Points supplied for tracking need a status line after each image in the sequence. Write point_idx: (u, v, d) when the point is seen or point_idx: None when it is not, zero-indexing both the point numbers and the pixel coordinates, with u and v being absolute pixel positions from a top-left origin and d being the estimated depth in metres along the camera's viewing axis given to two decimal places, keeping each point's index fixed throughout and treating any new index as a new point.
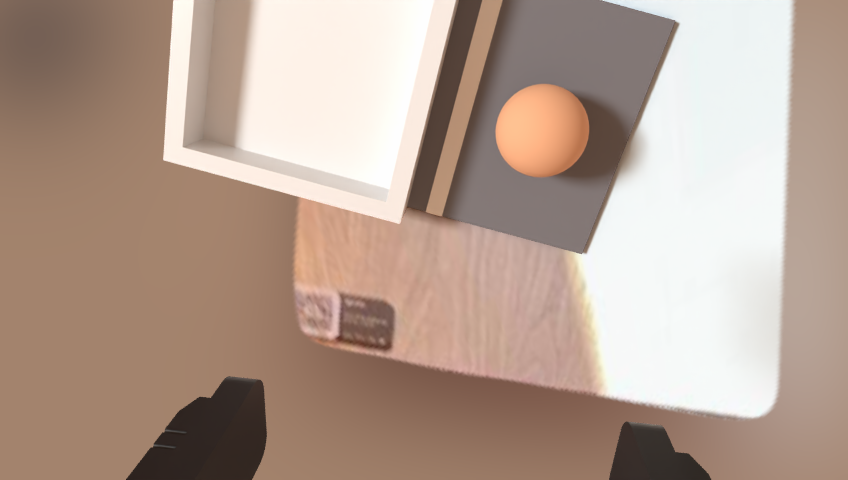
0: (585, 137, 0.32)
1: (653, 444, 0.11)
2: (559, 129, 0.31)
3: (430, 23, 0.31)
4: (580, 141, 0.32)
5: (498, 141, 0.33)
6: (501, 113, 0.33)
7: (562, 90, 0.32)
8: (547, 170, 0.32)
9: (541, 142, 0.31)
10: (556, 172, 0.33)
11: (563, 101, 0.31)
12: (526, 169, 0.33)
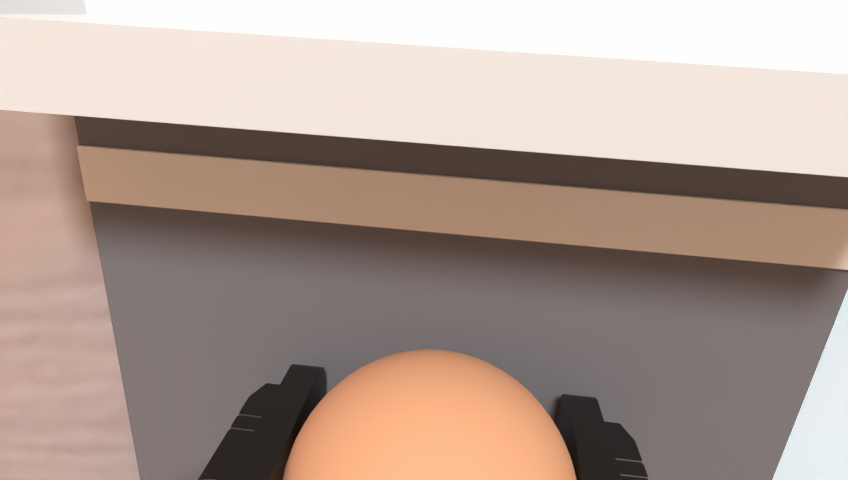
0: None
1: (584, 413, 0.11)
2: None
3: (831, 84, 0.06)
4: None
5: (365, 418, 0.09)
6: (465, 401, 0.09)
7: None
8: None
9: None
10: None
11: None
12: None
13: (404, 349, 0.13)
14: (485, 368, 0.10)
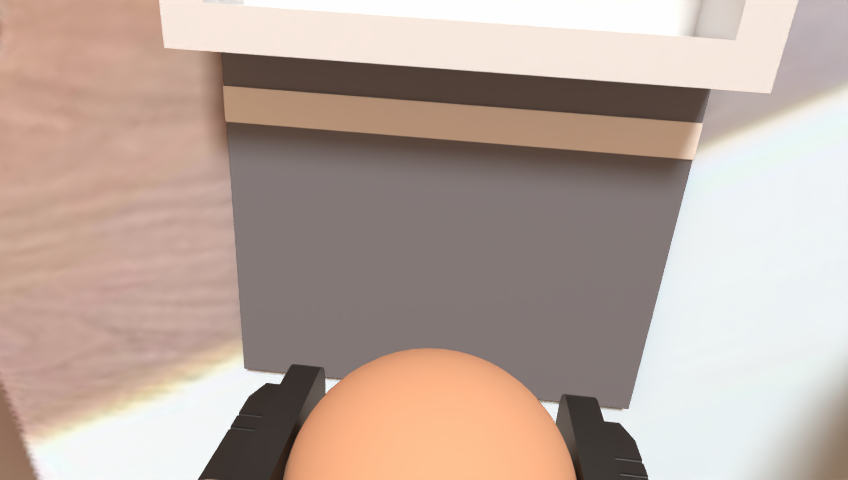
0: None
1: (584, 413, 0.11)
2: None
3: (632, 38, 0.14)
4: None
5: (365, 416, 0.09)
6: (465, 400, 0.09)
7: None
8: None
9: None
10: None
11: None
12: None
13: (422, 219, 0.20)
14: (485, 367, 0.10)
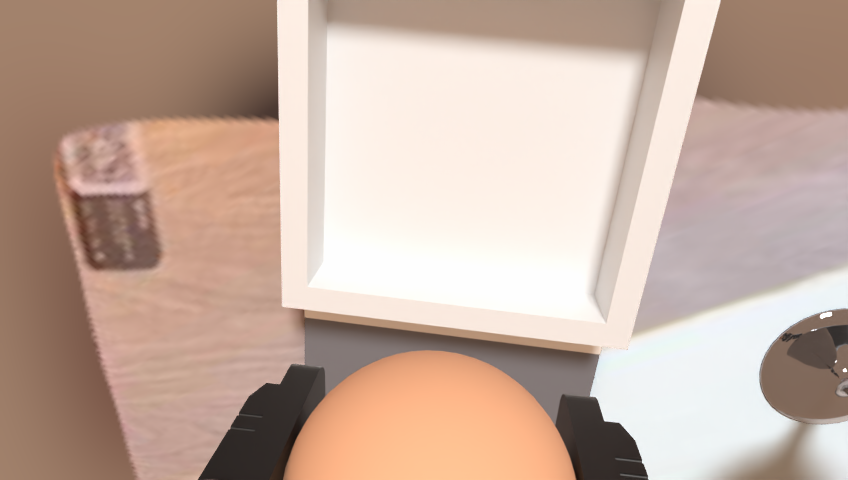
0: None
1: (584, 413, 0.11)
2: None
3: (549, 319, 0.25)
4: None
5: (365, 419, 0.09)
6: (464, 402, 0.09)
7: None
8: None
9: None
10: None
11: None
12: None
13: None
14: (485, 369, 0.10)
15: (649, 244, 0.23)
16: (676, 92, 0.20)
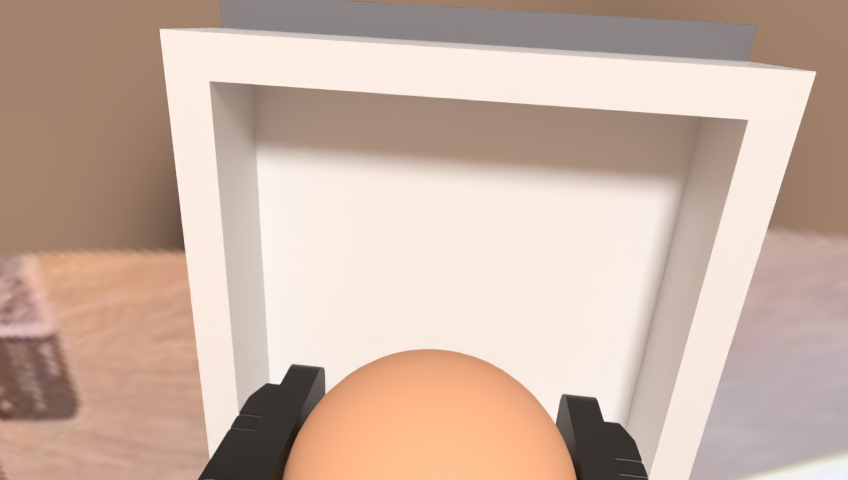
0: None
1: (584, 413, 0.11)
2: None
3: None
4: None
5: (365, 418, 0.09)
6: (465, 401, 0.09)
7: None
8: None
9: None
10: None
11: None
12: None
13: None
14: (485, 368, 0.10)
15: (692, 437, 0.17)
16: (731, 253, 0.15)
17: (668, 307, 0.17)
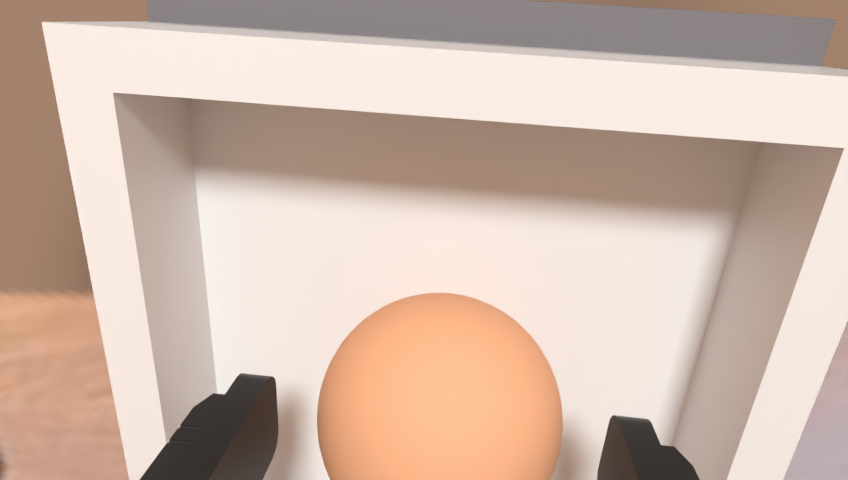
0: None
1: (639, 437, 0.11)
2: None
3: None
4: None
5: (389, 337, 0.11)
6: (469, 325, 0.11)
7: None
8: None
9: None
10: None
11: None
12: (330, 443, 0.11)
13: None
14: (485, 305, 0.12)
15: None
16: (809, 321, 0.11)
17: (714, 376, 0.14)
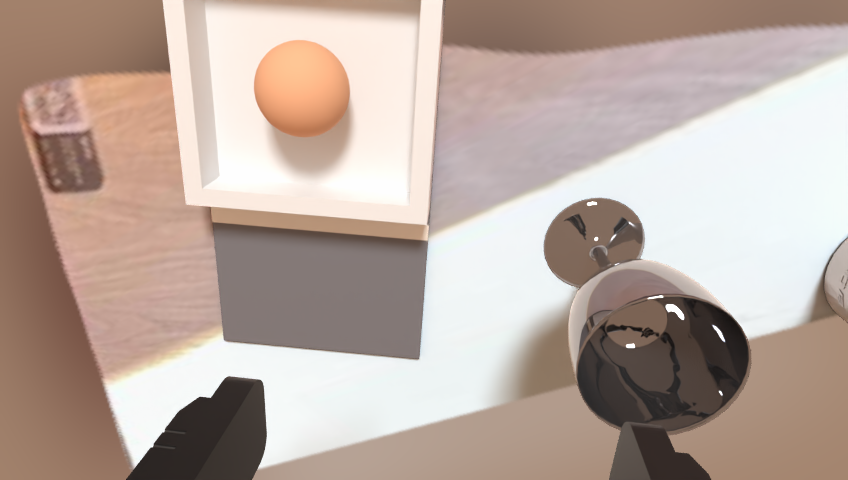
0: (305, 134, 0.32)
1: (653, 444, 0.11)
2: (302, 106, 0.30)
3: (370, 204, 0.35)
4: (299, 129, 0.32)
5: (278, 46, 0.31)
6: (307, 42, 0.31)
7: (344, 99, 0.32)
8: (261, 105, 0.31)
9: (285, 92, 0.30)
10: (264, 115, 0.32)
11: (332, 103, 0.31)
12: (257, 83, 0.31)
13: (307, 266, 0.41)
14: None
15: (428, 146, 0.34)
16: (427, 39, 0.31)
17: None
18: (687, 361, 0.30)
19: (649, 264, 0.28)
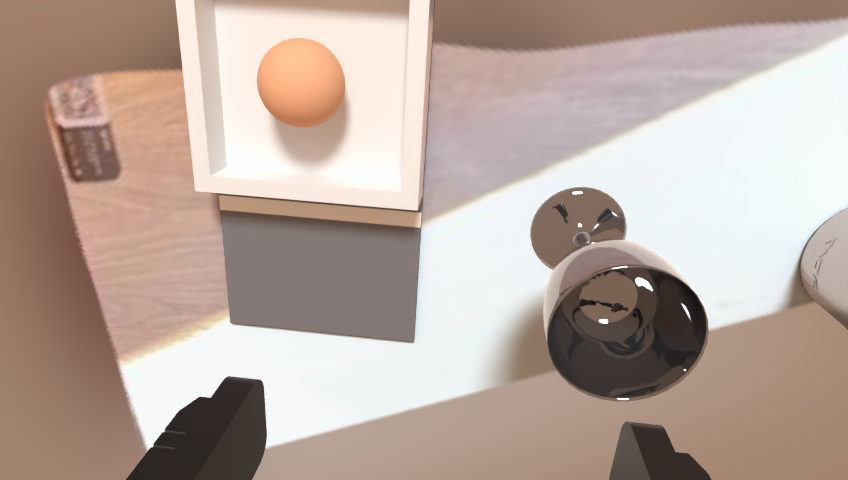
0: (303, 124, 0.35)
1: (653, 444, 0.11)
2: (300, 98, 0.33)
3: (365, 191, 0.38)
4: (297, 120, 0.34)
5: (278, 43, 0.34)
6: (305, 40, 0.34)
7: (339, 92, 0.35)
8: (263, 97, 0.34)
9: (284, 84, 0.33)
10: (266, 106, 0.35)
11: (327, 95, 0.34)
12: (259, 77, 0.34)
13: (308, 252, 0.44)
14: None
15: (417, 136, 0.36)
16: (416, 36, 0.34)
17: None
18: (656, 335, 0.32)
19: (617, 241, 0.30)
